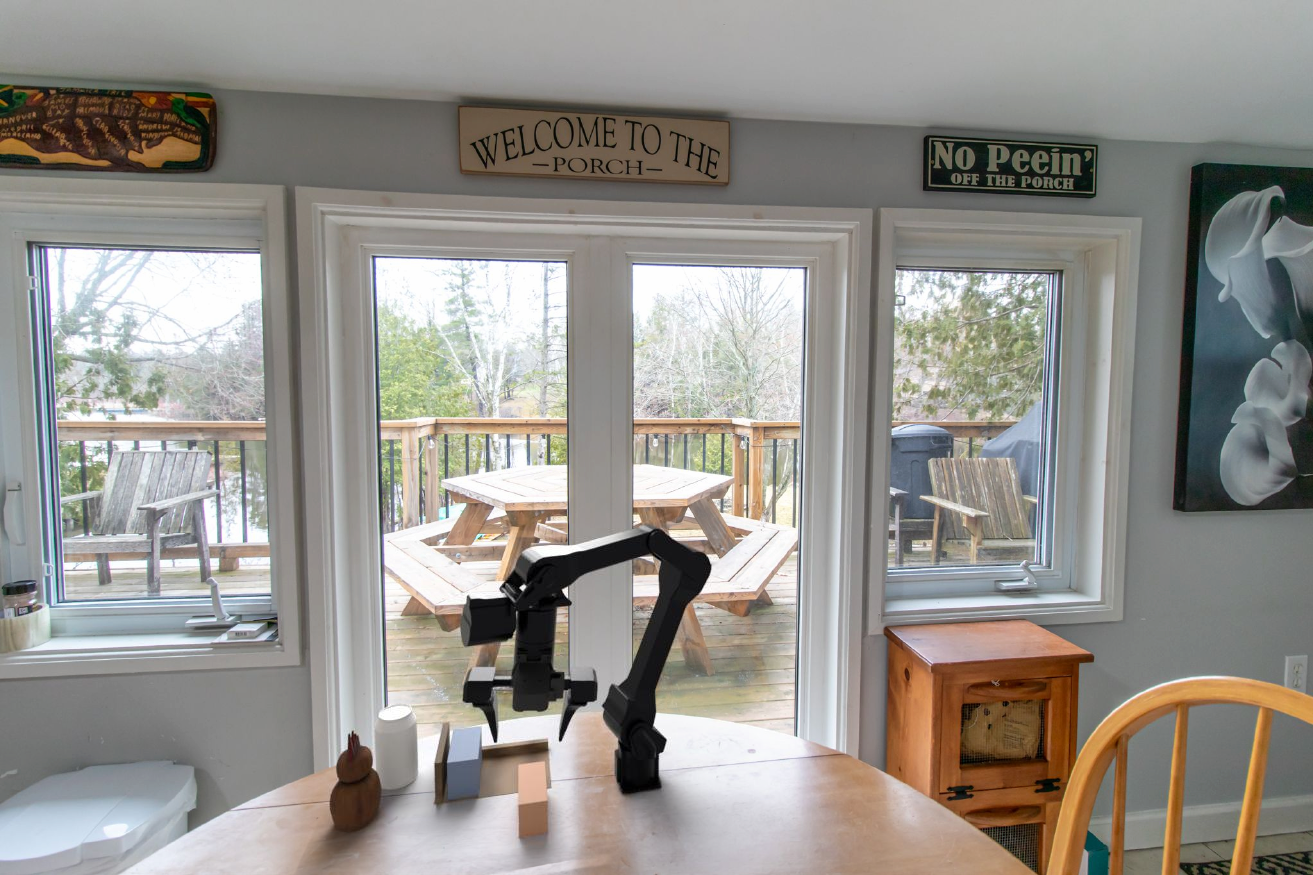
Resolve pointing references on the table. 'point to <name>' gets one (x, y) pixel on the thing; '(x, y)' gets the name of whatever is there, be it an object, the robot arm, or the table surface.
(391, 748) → the beverage can
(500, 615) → the robot arm
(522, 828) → the light orange box
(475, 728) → the pale blue box
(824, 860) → the table surface
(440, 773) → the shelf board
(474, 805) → the table surface
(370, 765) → the wooden figurine
